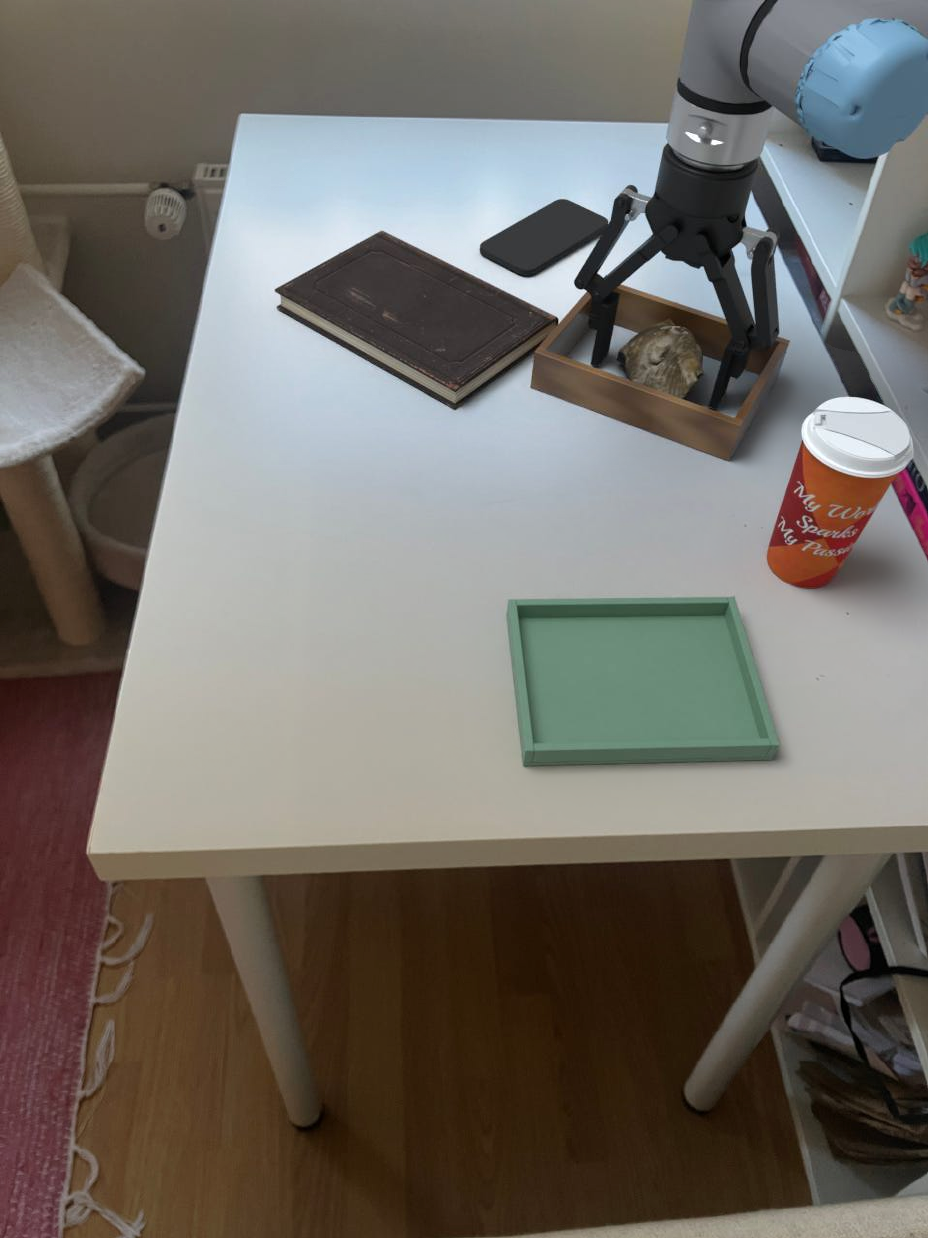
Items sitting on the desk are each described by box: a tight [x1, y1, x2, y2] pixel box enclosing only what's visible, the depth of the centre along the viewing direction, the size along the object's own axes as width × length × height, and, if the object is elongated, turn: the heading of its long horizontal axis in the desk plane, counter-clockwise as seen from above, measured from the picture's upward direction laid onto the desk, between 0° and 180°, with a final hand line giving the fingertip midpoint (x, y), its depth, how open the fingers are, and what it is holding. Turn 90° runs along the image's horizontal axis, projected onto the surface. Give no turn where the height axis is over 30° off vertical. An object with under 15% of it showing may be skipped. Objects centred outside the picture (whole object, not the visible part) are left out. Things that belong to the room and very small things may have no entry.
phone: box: [479, 198, 609, 277], centre depth 110 cm, size 7×1×15 cm
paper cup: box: [766, 396, 915, 589], centre depth 75 cm, size 8×8×14 cm
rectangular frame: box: [529, 284, 791, 462], centre depth 94 cm, size 20×15×4 cm
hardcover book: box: [274, 230, 560, 410], centre depth 99 cm, size 16×23×2 cm
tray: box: [505, 596, 781, 767], centre depth 71 cm, size 17×13×2 cm
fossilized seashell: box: [615, 319, 705, 400], centre depth 93 cm, size 8×7×10 cm
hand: (657, 379), depth 95 cm, fingers open, 11 cm apart
